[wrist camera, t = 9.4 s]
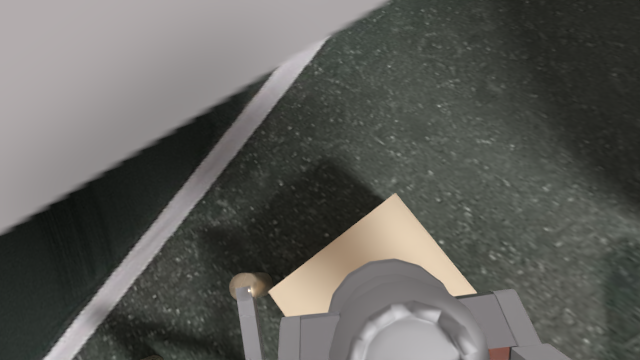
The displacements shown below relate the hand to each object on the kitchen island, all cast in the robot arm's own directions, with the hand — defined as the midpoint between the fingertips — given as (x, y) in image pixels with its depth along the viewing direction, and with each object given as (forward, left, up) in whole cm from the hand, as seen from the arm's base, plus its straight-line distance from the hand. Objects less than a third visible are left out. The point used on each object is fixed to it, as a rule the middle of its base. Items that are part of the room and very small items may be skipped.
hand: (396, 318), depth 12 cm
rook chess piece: (0, -1, -5) cm, 5 cm away
